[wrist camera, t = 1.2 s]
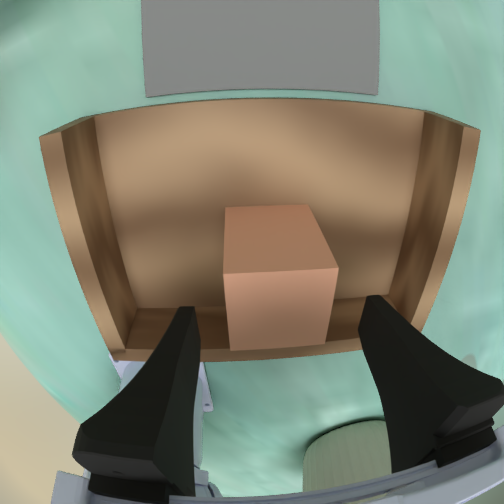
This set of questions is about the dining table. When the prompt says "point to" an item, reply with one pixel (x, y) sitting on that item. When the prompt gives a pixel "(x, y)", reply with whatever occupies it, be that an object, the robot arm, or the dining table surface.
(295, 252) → the block
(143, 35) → the mat
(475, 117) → the dining table surface
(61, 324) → the dining table surface
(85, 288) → the crate
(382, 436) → the canister
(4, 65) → the dining table surface
